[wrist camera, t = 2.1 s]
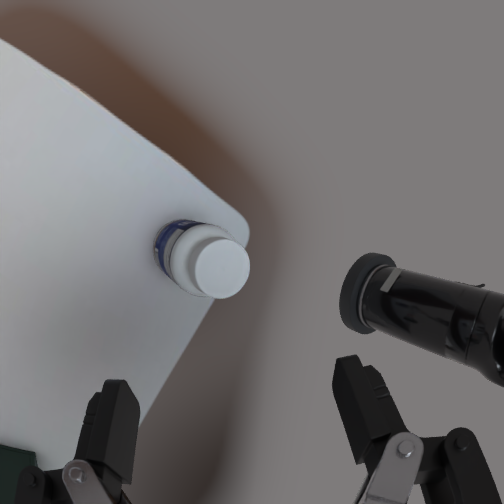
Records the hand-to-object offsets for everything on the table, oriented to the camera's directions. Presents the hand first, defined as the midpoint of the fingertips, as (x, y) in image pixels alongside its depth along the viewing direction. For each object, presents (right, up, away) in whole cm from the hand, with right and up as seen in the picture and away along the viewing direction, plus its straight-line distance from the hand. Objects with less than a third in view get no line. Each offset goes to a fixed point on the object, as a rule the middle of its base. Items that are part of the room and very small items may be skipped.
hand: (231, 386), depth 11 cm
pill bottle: (-6, +5, +18) cm, 19 cm away
